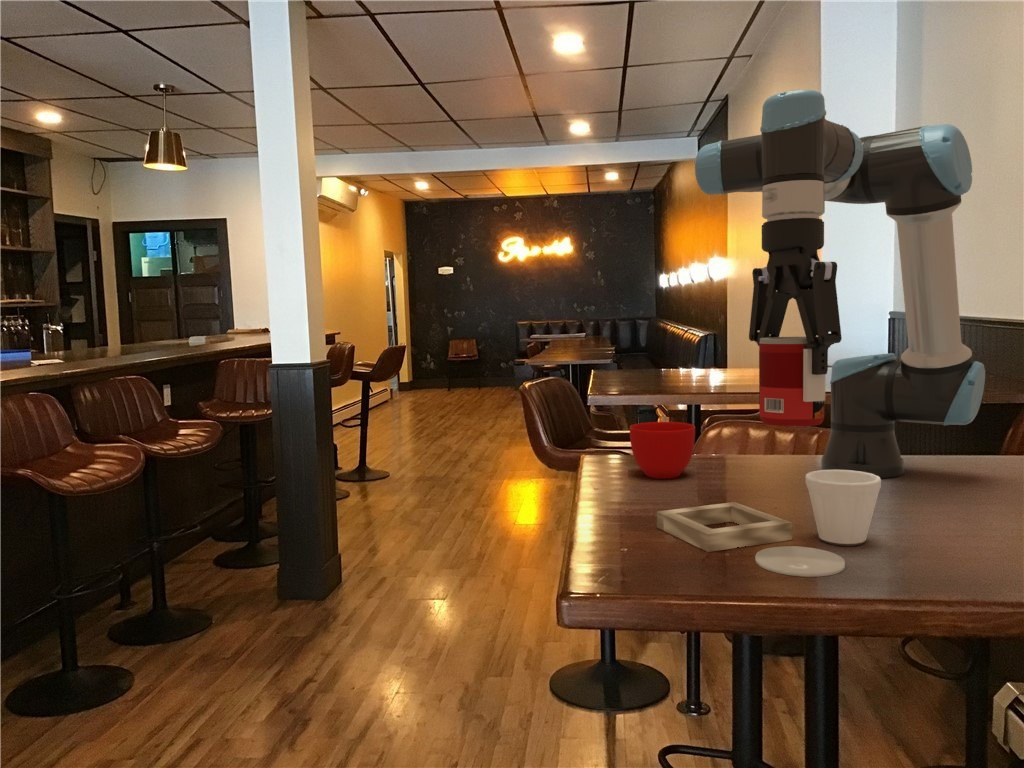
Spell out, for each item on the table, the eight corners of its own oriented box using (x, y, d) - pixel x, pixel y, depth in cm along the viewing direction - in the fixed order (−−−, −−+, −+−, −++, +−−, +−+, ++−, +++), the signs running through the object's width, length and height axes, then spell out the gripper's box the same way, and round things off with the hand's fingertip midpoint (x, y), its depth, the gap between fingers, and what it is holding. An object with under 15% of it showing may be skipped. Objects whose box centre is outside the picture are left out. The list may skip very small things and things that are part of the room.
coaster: (805, 546, 112) (805, 542, 112) (864, 569, 102) (864, 564, 102) (738, 556, 109) (738, 552, 109) (792, 581, 98) (792, 576, 98)
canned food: (829, 426, 100) (829, 338, 99) (761, 426, 102) (761, 339, 101) (819, 418, 108) (819, 336, 107) (757, 418, 109) (756, 337, 108)
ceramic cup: (711, 468, 168) (710, 421, 167) (681, 484, 154) (681, 432, 153) (652, 463, 175) (652, 418, 174) (619, 478, 161) (618, 429, 160)
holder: (734, 517, 129) (734, 501, 129) (792, 539, 116) (792, 522, 116) (656, 527, 124) (656, 511, 124) (707, 552, 111) (707, 534, 111)
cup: (874, 554, 108) (875, 486, 107) (797, 545, 113) (797, 480, 112) (885, 535, 116) (886, 472, 116) (812, 527, 122) (813, 467, 121)
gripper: (721, 228, 111) (721, 392, 113) (823, 208, 91) (822, 407, 93) (767, 228, 113) (767, 389, 115) (877, 209, 94) (874, 403, 96)
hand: (792, 397), depth 104 cm, fingers closed on canned food, 8 cm apart
